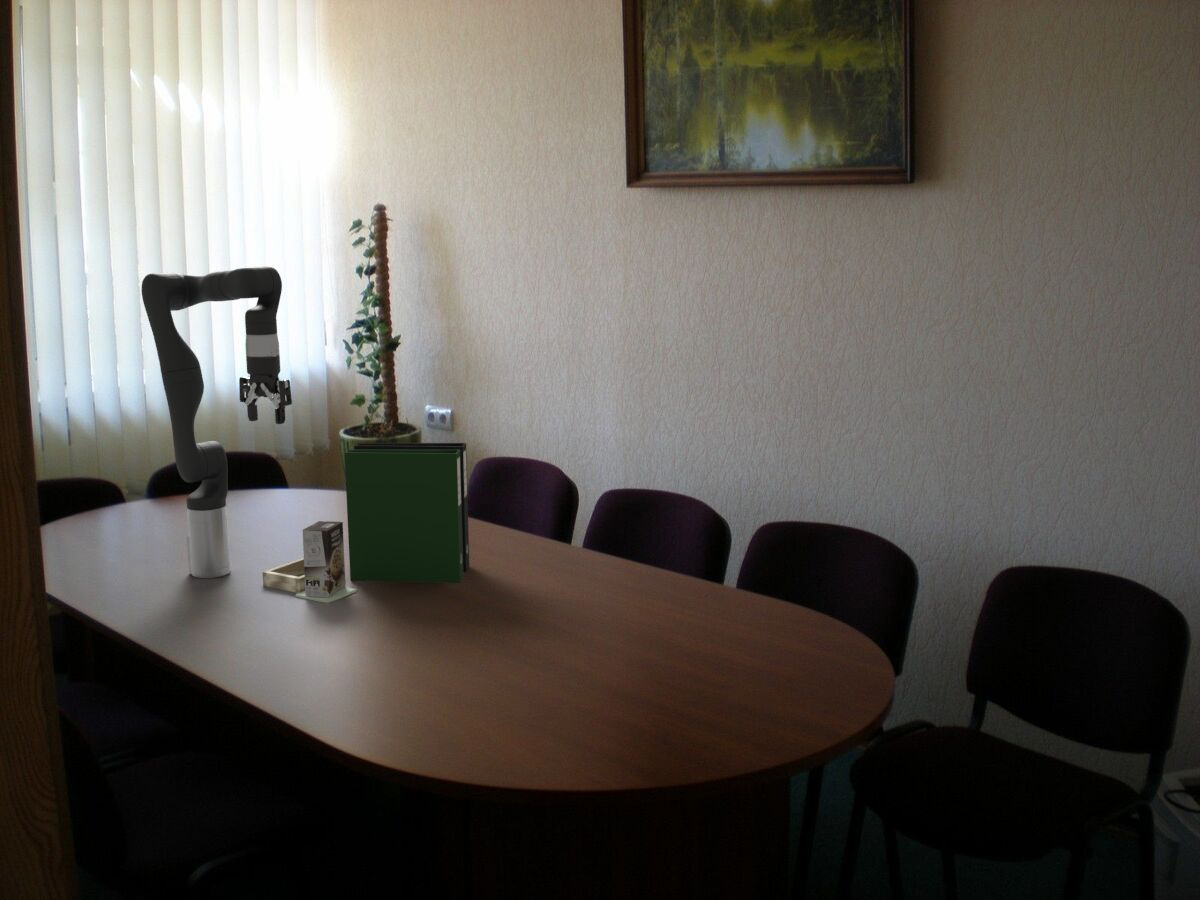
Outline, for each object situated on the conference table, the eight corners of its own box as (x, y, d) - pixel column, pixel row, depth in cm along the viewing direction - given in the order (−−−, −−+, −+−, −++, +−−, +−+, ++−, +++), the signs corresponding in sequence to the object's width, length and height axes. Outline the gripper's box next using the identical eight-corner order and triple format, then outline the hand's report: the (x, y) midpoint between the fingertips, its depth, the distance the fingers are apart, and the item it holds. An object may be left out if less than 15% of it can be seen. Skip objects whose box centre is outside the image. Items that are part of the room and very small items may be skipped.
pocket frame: (263, 585, 286) (262, 572, 285) (306, 570, 298) (305, 557, 298) (299, 593, 280) (299, 578, 279) (342, 576, 293) (341, 563, 292)
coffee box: (330, 598, 274) (326, 530, 271) (304, 596, 275) (301, 529, 272) (346, 586, 283) (343, 521, 280) (322, 585, 284) (318, 519, 281)
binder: (349, 581, 289) (343, 453, 283) (364, 564, 303) (359, 441, 297) (460, 583, 287) (456, 453, 281) (469, 565, 302) (466, 442, 296)
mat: (295, 596, 277) (295, 594, 277) (324, 585, 286) (324, 583, 286) (328, 603, 272) (327, 600, 272) (356, 591, 281) (356, 589, 281)
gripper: (228, 353, 275) (232, 422, 278) (273, 356, 268) (277, 427, 271) (252, 350, 281) (256, 417, 284) (297, 353, 275) (300, 422, 278)
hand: (266, 422), depth 278 cm, fingers open, 8 cm apart
